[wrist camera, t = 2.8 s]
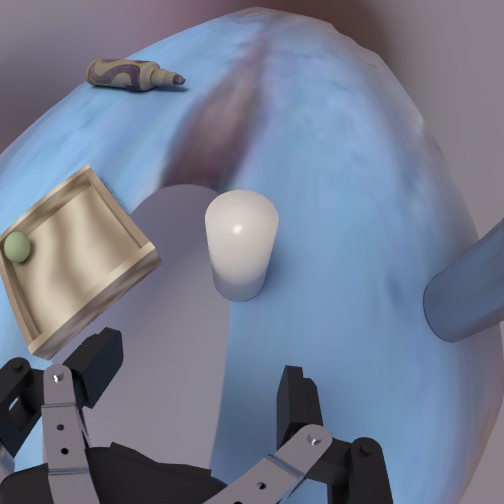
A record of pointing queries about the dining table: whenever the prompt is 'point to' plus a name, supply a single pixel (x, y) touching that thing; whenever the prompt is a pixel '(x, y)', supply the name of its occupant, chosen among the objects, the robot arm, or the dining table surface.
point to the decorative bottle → (130, 74)
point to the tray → (72, 261)
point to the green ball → (17, 247)
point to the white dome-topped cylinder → (240, 242)
